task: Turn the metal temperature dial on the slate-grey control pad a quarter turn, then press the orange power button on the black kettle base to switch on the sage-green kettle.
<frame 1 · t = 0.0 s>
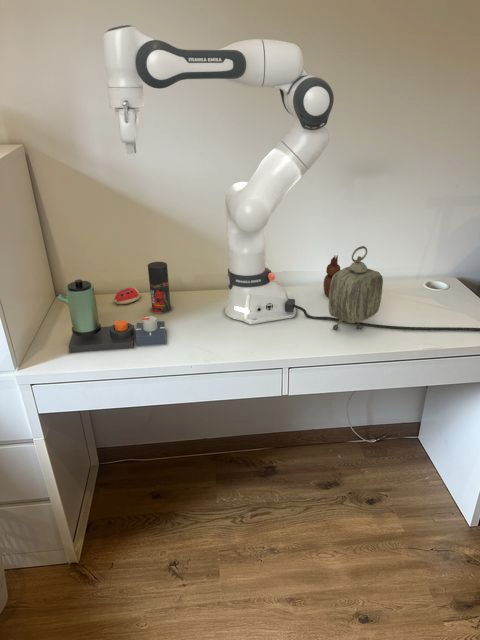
hand: (132, 156, 145), 48 cm above the table, tool pointing down, fingers open, 8 cm apart
kettle: (88, 342, 155), resting on kettle base
kettle base: (103, 341, 155), on the table
power button: (121, 325, 154), point 5 cm above the table, slide at 0.1 cm
control pad: (151, 338, 157), on the table
temp dial: (149, 323, 155), point 5 cm above the table, hinge at 0.0°
ladybug figurine: (127, 300, 181), on the table
deodorant: (161, 309, 174), on the table
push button: (87, 316, 170), on the table
wooden figurine: (331, 296, 185), on the table
tabletop clock: (353, 327, 164), on the table
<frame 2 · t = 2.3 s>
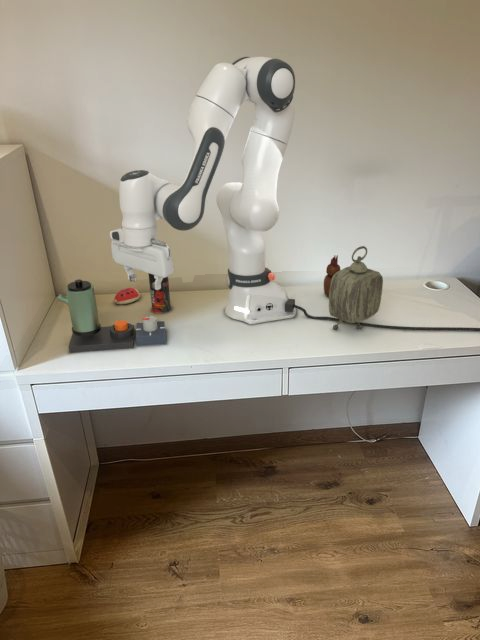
hand: (144, 284, 149), 16 cm above the table, tool pointing down, fingers open, 8 cm apart
nothing on the table moved.
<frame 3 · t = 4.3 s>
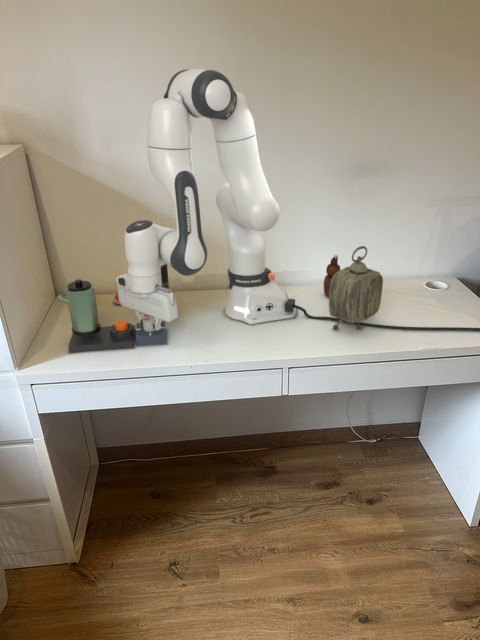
hand: (150, 326, 155), 4 cm above the table, tool pointing down, fingers closed on temp dial, 4 cm apart
temp dial: (149, 323, 155), point 5 cm above the table, hinge at 0.0°, touching gripper
everything else where it was.
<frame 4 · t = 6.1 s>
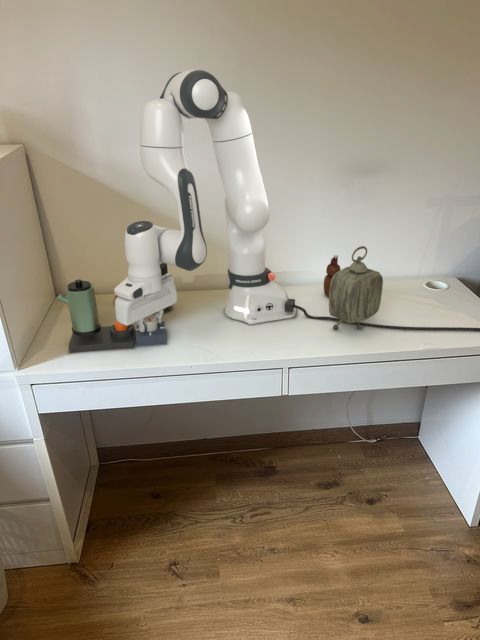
hand: (150, 327, 155), 3 cm above the table, tool pointing down, fingers closed on temp dial, 4 cm apart
temp dial: (149, 323, 155), point 5 cm above the table, hinge at 93.1°, touching gripper
everything else where it was.
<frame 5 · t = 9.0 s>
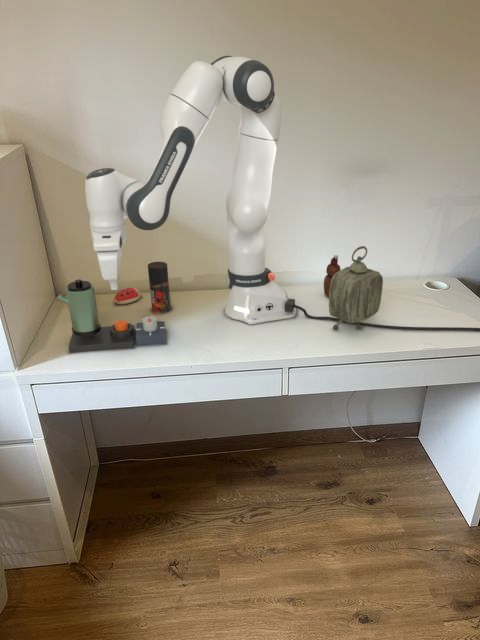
hand: (115, 284, 148), 17 cm above the table, tool pointing down, fingers open, 5 cm apart
temp dial: (149, 323, 155), point 5 cm above the table, hinge at 93.1°
everything else where it was.
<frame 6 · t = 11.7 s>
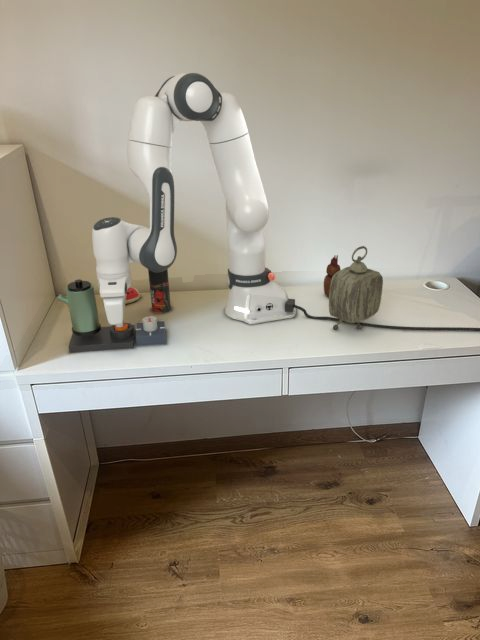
hand: (120, 325, 154), 5 cm above the table, tool pointing down, fingers closed, pressing on power button
power button: (121, 328, 154), point 4 cm above the table, slide at -0.8 cm, touching gripper
everything else where it was.
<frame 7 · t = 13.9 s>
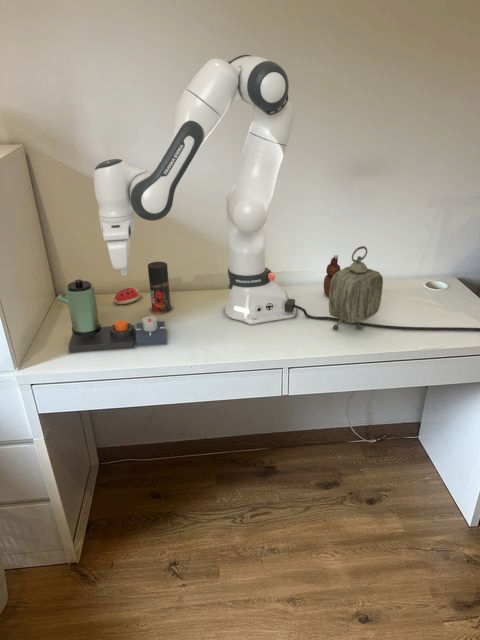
hand: (124, 273, 151), 19 cm above the table, tool pointing down, fingers closed
power button: (121, 325, 154), point 5 cm above the table, slide at 0.1 cm
everything else where it was.
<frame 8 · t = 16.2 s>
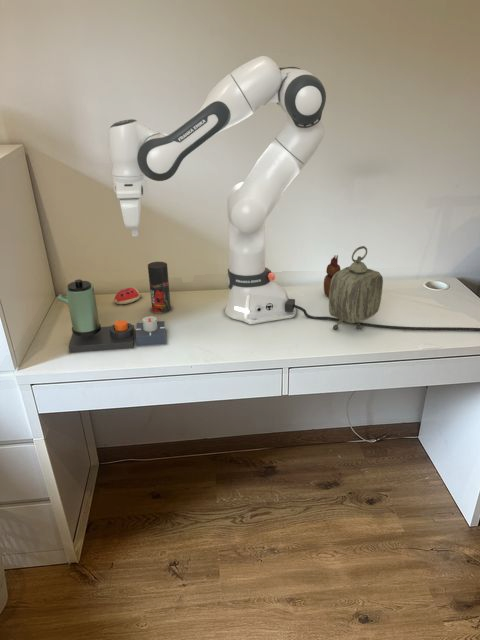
hand: (135, 234, 154), 27 cm above the table, tool pointing down, fingers closed
nothing on the table moved.
at the end: temp dial at +93° (first picture: +0°); power button pushed in 1.2 cm at the most during the clip, back to where it started at the end; power button slide at 0.1 cm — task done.
